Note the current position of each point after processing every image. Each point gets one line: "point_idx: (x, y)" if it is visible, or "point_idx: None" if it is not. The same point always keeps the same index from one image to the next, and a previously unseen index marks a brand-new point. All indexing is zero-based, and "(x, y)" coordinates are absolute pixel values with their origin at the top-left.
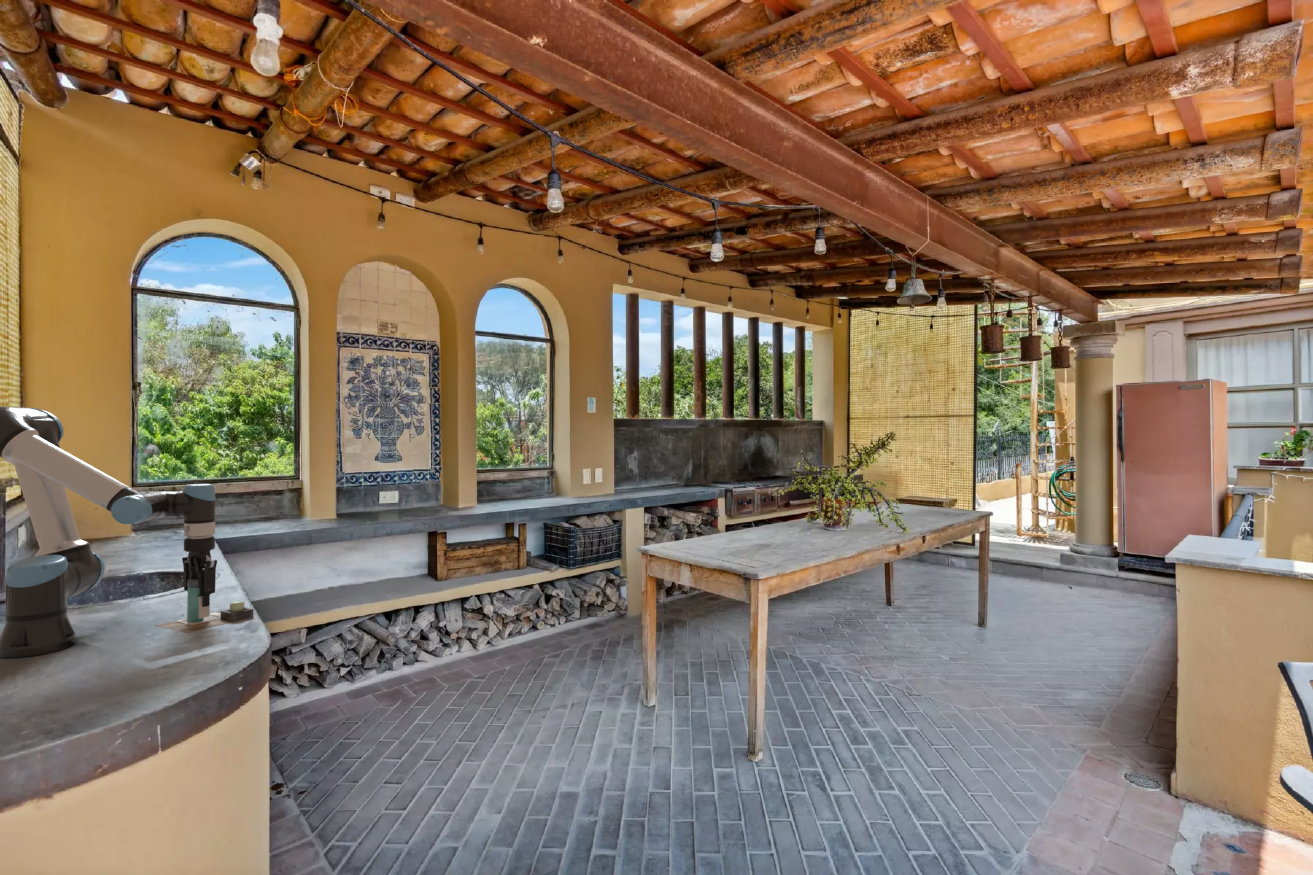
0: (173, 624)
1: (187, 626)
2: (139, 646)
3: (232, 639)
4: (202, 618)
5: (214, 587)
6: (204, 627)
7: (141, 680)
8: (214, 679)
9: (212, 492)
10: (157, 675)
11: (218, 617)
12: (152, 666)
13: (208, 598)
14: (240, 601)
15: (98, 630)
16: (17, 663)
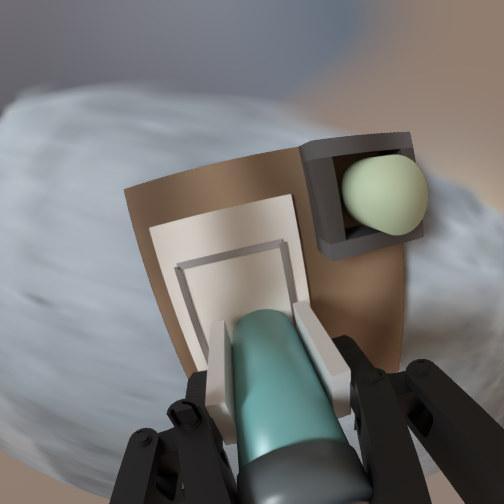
0: None
1: None
2: (355, 436)
3: (487, 274)
4: (290, 321)
5: (448, 382)
6: (388, 326)
7: (495, 398)
8: None
9: None
10: (500, 386)
11: (287, 251)
12: (475, 398)
13: (367, 364)
14: (384, 166)
15: (111, 456)
16: None
